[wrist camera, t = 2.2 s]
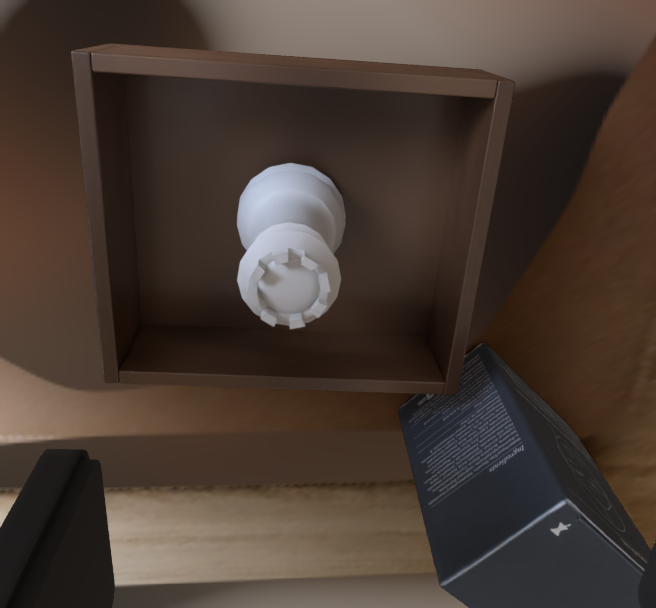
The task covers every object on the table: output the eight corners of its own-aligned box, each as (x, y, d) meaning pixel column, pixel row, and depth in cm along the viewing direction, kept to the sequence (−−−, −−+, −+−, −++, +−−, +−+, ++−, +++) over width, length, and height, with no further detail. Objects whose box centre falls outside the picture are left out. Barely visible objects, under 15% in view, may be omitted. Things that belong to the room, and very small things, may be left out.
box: (393, 409, 31) (435, 589, 21) (482, 337, 29) (571, 496, 20) (490, 493, 33) (567, 687, 24) (577, 431, 32) (696, 612, 22)
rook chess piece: (346, 159, 25) (365, 220, 18) (344, 263, 27) (360, 355, 20) (234, 160, 25) (208, 221, 18) (240, 264, 27) (219, 357, 20)
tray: (130, 332, 28) (103, 383, 25) (108, 43, 23) (70, 50, 19) (437, 344, 29) (458, 395, 26) (481, 69, 24) (516, 81, 20)
